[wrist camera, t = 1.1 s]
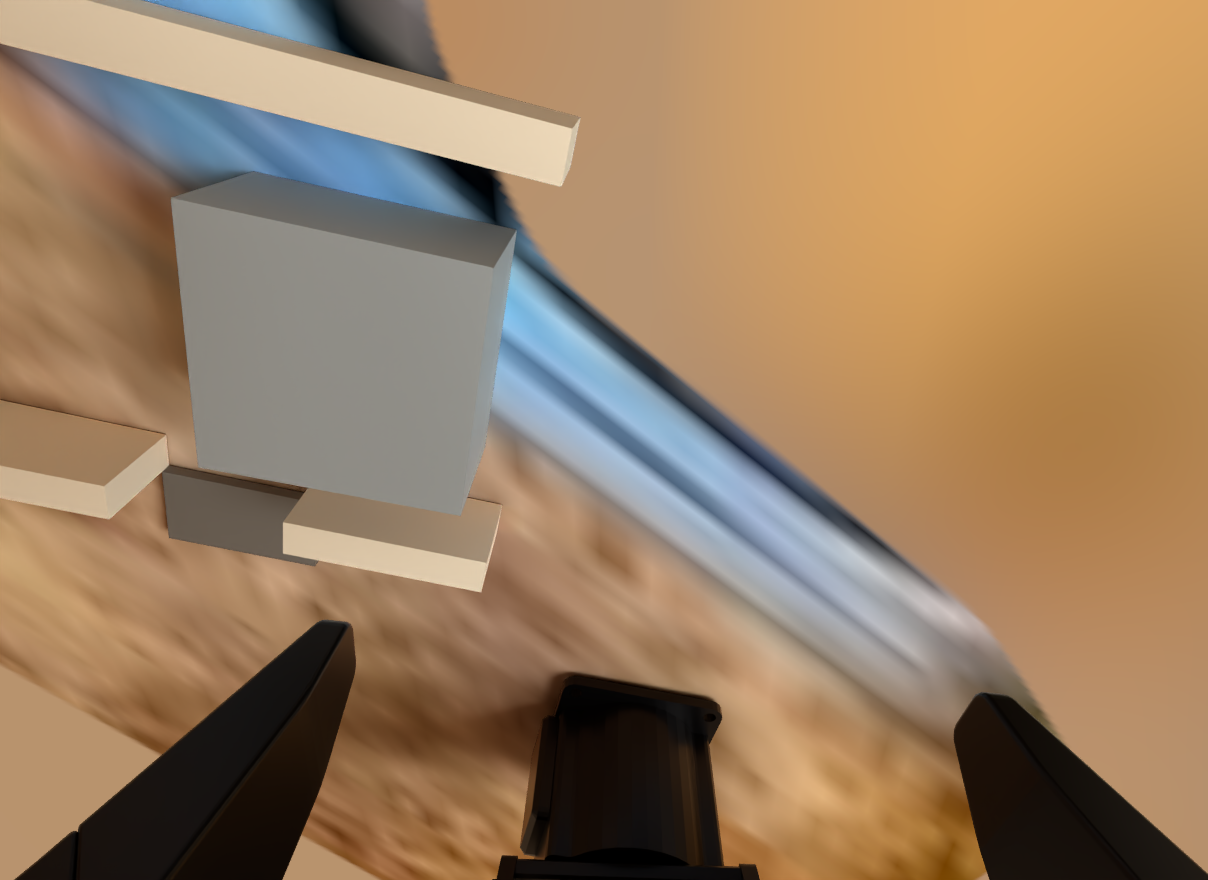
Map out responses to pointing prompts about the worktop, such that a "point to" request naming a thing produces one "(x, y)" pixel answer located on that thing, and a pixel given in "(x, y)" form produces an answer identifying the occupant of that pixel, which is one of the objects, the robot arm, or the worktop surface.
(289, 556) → the block
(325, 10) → the worktop surface
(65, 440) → the trap lane
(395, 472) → the slate block
